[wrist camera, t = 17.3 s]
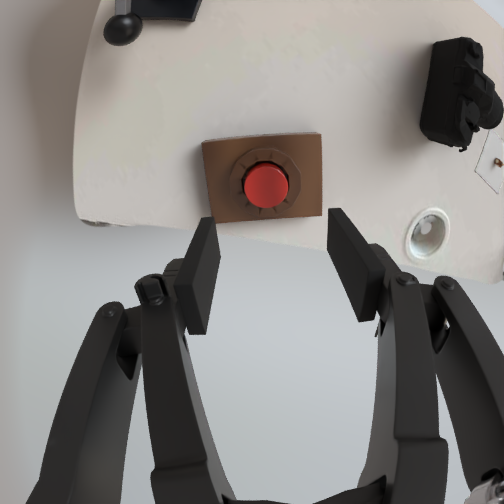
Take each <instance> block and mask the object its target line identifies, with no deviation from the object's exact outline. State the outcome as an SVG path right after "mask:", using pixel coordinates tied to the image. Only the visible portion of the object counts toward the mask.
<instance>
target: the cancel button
mask: <svg viewBox="0 0 504 504" xmlns="http://www.w3.org/2000/svg"><path fill="white" fill-rule="evenodd" d="M244 190H245V194H246V196H247V198H248V200H249V201H250V202H251V203H253V204H254V205H256V206H258V207H261V208H271V207H274V206H276V205H278V204H280V203H281V202H282V201H283V200H284V198H285V197H286V195H287V192H288V183H287V180H286V177H285V175H284V173H283V172H282V170H281V169H280V168H278V167H277V166H275V165H273V164H269V163H262V164H258V165H256V166H254V167H253V168H251V169H250V170H249V172H248V173H247V175H246V178H245V185H244Z"/></svg>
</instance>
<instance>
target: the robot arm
mask: <svg viewBox="0 0 504 504" xmlns="http://www.w3.org/2000/svg"><path fill="white" fill-rule="evenodd" d="M327 251H328V253H329V255H330V257H331V259H332V262H333V264H334V266H335V268H336V270H337V272H338V275H339V277H340V279H341V282H342V284H343V286H344V288H345V291H346V293H347V296H348V298H349V300H350V302H351V305H352V307H353V310H354V312H355V315H356V317H357V320H358V322H364V321H372V320H374V319H375V315H376V311H377V312H378V314H379V316H380V320H379V323H378V327H377V330H376V333H375V337H377V335H378V360H377V380H376V392H375V403H374V413H373V421H372V429H371V437H370V442H369V449H368V454H367V460H366V464H365V467H364V469H363V471H362V473H361V476H360V479H359V482H358V486H357V488H355V489H351V490H347V491H344V492H341V493H339V494H337V495H334V496H332V497H329V498H327V499H324V500H322V501H319V502H316V503H313V504H444V500H445V492H446V483H447V473H448V454H449V451H448V443H447V441H446V440H445V439H443V438H441V437H440V435H439V417H438V415H439V414H438V396H437V382H436V374H437V377H438V380H439V383H440V386H441V389H442V392H443V395H444V398H445V401H446V404H447V407H448V410H449V414H450V418H451V421H452V425H453V428H454V433H455V436H456V440H457V444H458V449H459V454H460V459H461V463H462V468H463V472H464V476H465V479H466V482H467V485H468V487H469V489H470V491H471V494H470V496H468V497H467V498H466V500H465V502H464V504H504V355H503V353H502V351H501V350H500V348H499V346H498V344H497V342H496V340H495V339H494V337H493V335H492V333H491V332H490V330H489V329H488V327H487V325H486V323H485V322H484V320H483V319H482V317H481V315H480V314H479V312H478V311H477V309H476V308H475V306H474V305H473V303H472V302H471V300H470V299H469V297H468V296H467V294H466V293H465V291H464V290H463V289H462V287H461V286H460V285H459V283H458V282H457V281H456V280H454V279H453V278H451V277H448V276H438V277H437V278H436V279H435V281H434V284H433V285H428V284H420V283H419V281H418V280H417V278H416V277H415V276H414V275H412V274H410V273H407V272H402V271H401V270H400V269H399V267H398V266H397V265H396V263H395V262H394V261H393V259H391V257H390V255H388V253H387V252H386V250H385V249H384V248H383V247H381V246H380V245H378V244H376V243H375V244H368V243H367V241H366V240H365V239H364V237H363V236H362V235H361V233H360V232H359V231H358V229H357V228H356V227H355V226H354V224H353V223H352V222H351V220H350V219H349V218H348V217H347V215H346V214H345V213H344V212H343V210H342V209H341V208H328V235H327ZM220 258H221V256H220V249H219V243H218V238H217V231H216V224H215V218H214V217H204V218H201V220H200V223H199V225H198V227H197V229H196V232H195V234H194V236H193V239H192V241H191V243H190V245H189V248H188V250H187V253H186V255H185V257H184V258H180V259H173V260H172V261H171V262H170V263H168V264H167V266H166V268H165V270H164V272H163V274H162V275H161V274H149V275H147V276H144V277H143V278H141V279H139V280H138V281H137V282H136V284H135V286H134V288H135V290H136V293H137V295H138V298H139V301H140V303H141V305H140V306H137V307H133V308H129V309H124V307H123V305H122V304H121V303H120V302H115V301H114V302H109V303H107V304H104V305H103V306H102V307H101V308H99V310H98V311H97V313H96V315H95V317H94V319H93V321H92V323H91V325H90V327H89V329H88V332H87V334H86V336H85V338H84V340H83V343H82V345H81V347H80V350H79V352H78V354H77V357H76V359H75V362H74V364H73V367H72V369H71V372H70V374H69V377H68V379H67V382H66V385H65V388H64V390H63V393H62V396H61V399H60V402H59V405H58V408H57V411H56V414H55V417H54V420H53V424H52V427H51V430H50V434H49V438H48V442H47V445H46V450H45V453H44V458H43V462H42V467H41V472H40V477H39V480H38V482H37V484H36V485H35V487H34V489H33V491H32V493H31V495H30V496H29V498H28V500H27V502H26V504H120V501H121V491H122V480H123V471H124V462H125V454H126V447H127V440H128V433H129V427H130V421H131V415H132V410H133V404H134V399H135V394H136V389H137V384H138V379H139V374H140V370H141V365H142V367H143V379H144V380H143V381H144V392H145V402H146V410H147V419H148V426H149V433H150V439H151V445H152V451H153V456H154V462H155V468H154V470H153V471H152V472H151V477H150V478H151V487H152V491H153V496H154V499H155V504H288V503H280V502H274V501H268V500H260V501H243V500H242V501H241V500H236V497H235V495H234V492H233V490H232V488H231V486H230V484H229V482H228V480H227V478H226V476H225V473H224V470H223V467H222V465H221V462H220V459H219V456H218V453H217V450H216V447H215V444H214V441H213V438H212V434H211V431H210V428H209V425H208V421H207V418H206V415H205V411H204V408H203V404H202V401H201V397H200V393H199V390H198V386H197V382H196V378H195V374H194V370H193V366H192V362H191V358H190V353H189V349H188V344H187V340H186V337H185V335H184V333H185V329H186V327H187V330H188V333H189V335H206V331H207V325H208V320H209V315H210V309H211V304H212V299H213V293H214V289H215V283H216V278H217V273H218V268H219V263H220ZM447 321H448V323H449V325H450V327H449V328H448V327H447V325H446V323H447Z"/></svg>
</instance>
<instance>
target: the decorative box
mask: <svg viewBox="0 0 504 504" xmlns="http://www.w3.org/2000/svg"><path fill="white" fill-rule="evenodd" d="M475 171H476V172H477V173H478V174H479V175H480V176H481V177H482V178H483V179H484V180H485V181H486V182H487V183H488V184H489V185H490V186H491V187H492V188H493V189H494V191H495V192H496V193H497V194H498V193H499V191H500V188H501V186H502V183H503V181H504V142H503V140H502V139H501V138H500V137H499V135H498V134H497V133H496V132H495V131H494V129H490V131H489V134H488V137H487V140H486V143H485V146H484V149H483V152H482V154H481V157H480V160H479V162H478V165H477V167H476V170H475Z"/></svg>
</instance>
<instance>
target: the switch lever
mask: <svg viewBox="0 0 504 504" xmlns="http://www.w3.org/2000/svg"><path fill="white" fill-rule="evenodd" d="M142 26H143V24H142V20H141V18H140V17H139V16H138V15H137V14H135V13H133V12H131V0H115V15H114V16H113V17H111V18H110V19H109V20H108V22H107V23H106V25H105V27H104V38H105V40H106V41H107V42H108V43H109V44H111V45H114V46H124V45H127V44H130V43H131V42H133V41H134V40H135V39H137V37H138V36H139V35H140V33H141V31H142Z"/></svg>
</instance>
